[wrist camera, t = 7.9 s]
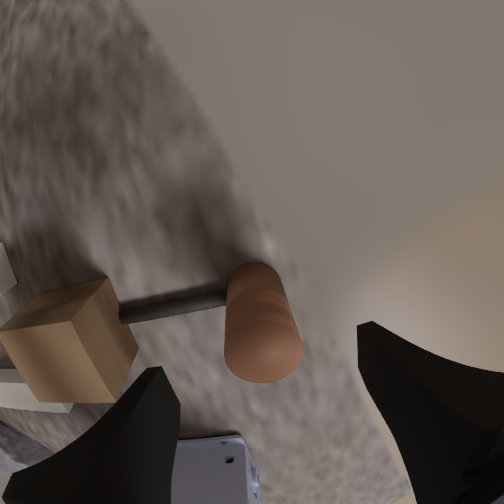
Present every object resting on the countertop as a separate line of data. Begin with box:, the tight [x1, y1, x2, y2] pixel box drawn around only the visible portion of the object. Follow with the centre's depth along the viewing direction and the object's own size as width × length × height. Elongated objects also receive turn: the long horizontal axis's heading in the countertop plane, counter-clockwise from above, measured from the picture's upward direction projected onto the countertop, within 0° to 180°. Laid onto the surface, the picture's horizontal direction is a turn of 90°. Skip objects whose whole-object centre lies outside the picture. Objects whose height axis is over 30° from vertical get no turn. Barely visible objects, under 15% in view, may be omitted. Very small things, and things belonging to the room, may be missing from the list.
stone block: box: [0, 422, 54, 476], centre depth 22 cm, size 12×5×10 cm
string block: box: [0, 263, 303, 403], centre depth 14 cm, size 16×5×6 cm, turn 102°
